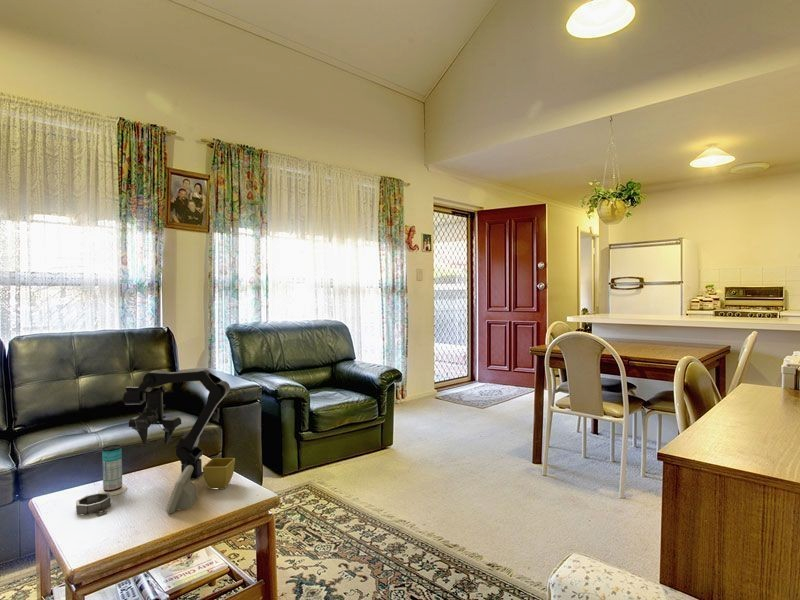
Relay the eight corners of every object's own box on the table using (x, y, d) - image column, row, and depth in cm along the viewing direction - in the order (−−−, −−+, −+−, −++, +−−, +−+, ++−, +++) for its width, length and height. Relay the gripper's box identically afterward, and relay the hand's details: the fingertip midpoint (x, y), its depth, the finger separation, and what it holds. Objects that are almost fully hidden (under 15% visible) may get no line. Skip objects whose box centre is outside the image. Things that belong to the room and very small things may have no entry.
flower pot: (226, 491, 168) (226, 466, 168) (202, 491, 168) (201, 466, 168) (236, 481, 177) (235, 457, 176) (212, 481, 177) (212, 458, 177)
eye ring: (124, 502, 160) (124, 493, 160) (102, 516, 151) (101, 507, 150) (86, 500, 163) (85, 491, 162) (61, 513, 153) (61, 504, 153)
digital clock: (179, 494, 167) (179, 464, 166) (205, 493, 167) (204, 463, 166) (156, 515, 150) (155, 482, 150) (184, 515, 150) (183, 482, 150)
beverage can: (123, 484, 174) (122, 443, 174) (121, 490, 169) (120, 448, 169) (104, 487, 171) (103, 446, 171) (102, 493, 166) (101, 451, 166)
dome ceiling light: (132, 486, 174) (132, 484, 174) (114, 497, 165) (114, 495, 165) (110, 485, 175) (110, 483, 175) (91, 495, 166) (91, 493, 166)
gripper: (117, 408, 174) (118, 450, 175) (163, 409, 172) (164, 452, 172) (138, 401, 185) (139, 440, 186) (181, 402, 183) (182, 442, 183)
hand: (155, 444), depth 181 cm, fingers open, 9 cm apart
